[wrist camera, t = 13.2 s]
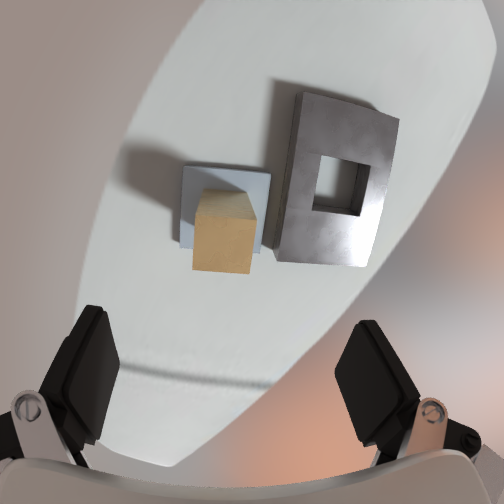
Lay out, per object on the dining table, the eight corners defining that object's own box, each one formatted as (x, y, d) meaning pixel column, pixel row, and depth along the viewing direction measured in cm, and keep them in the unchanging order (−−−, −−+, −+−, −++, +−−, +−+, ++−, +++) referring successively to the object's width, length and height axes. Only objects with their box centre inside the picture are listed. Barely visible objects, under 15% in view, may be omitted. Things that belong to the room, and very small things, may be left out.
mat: (184, 165, 24) (183, 166, 24) (269, 172, 26) (271, 174, 25) (181, 243, 28) (179, 247, 27) (258, 249, 29) (259, 253, 28)
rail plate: (296, 94, 22) (303, 91, 20) (386, 118, 24) (399, 119, 22) (272, 250, 29) (276, 261, 27) (356, 256, 31) (365, 266, 28)
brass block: (203, 188, 25) (195, 214, 17) (247, 192, 25) (257, 220, 18) (200, 229, 26) (192, 269, 19) (241, 232, 27) (249, 274, 20)
